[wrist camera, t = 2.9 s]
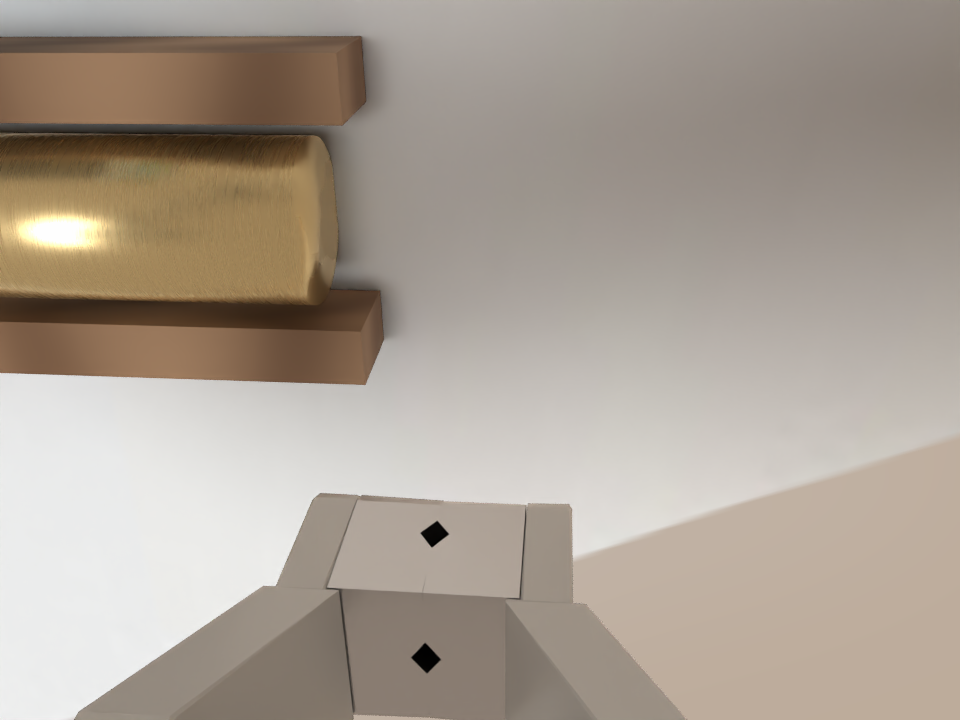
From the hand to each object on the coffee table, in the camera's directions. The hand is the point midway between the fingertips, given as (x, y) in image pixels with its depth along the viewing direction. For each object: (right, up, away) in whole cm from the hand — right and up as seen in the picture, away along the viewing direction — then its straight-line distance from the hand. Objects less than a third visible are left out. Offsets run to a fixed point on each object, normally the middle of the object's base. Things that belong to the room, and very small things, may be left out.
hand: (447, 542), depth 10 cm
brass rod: (-10, +7, +13) cm, 18 cm away
